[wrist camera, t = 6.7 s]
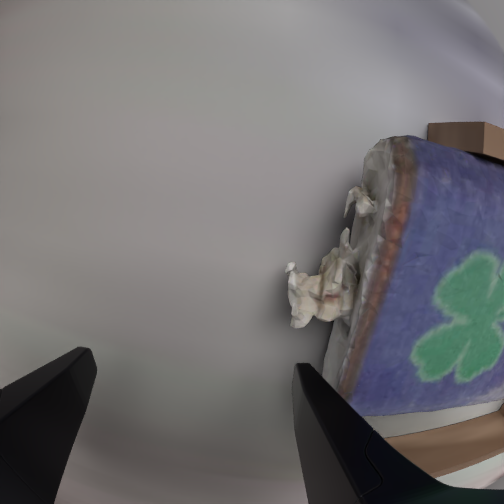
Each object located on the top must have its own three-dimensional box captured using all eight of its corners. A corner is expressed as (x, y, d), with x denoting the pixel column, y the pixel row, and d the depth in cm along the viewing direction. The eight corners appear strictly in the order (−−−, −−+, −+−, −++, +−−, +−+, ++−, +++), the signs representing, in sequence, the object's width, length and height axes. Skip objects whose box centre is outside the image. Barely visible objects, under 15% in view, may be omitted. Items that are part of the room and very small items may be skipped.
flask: (505, 409, 8) (266, 429, 9) (482, 369, 11) (269, 370, 12) (598, 206, 5) (314, 111, 5) (550, 185, 8) (302, 116, 8)
